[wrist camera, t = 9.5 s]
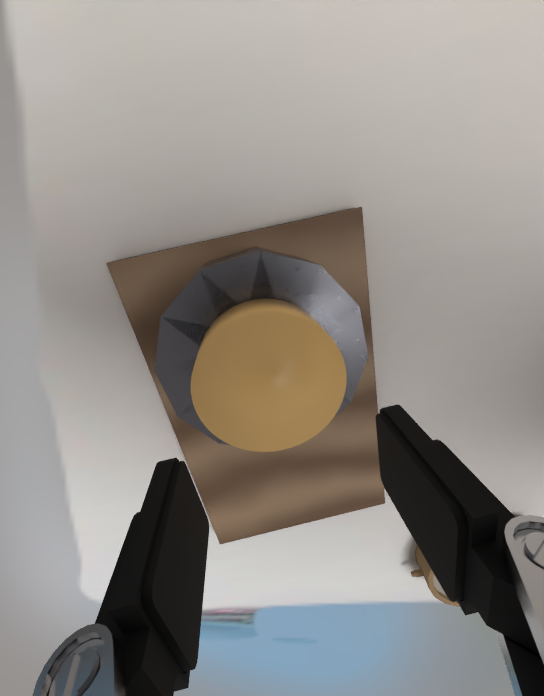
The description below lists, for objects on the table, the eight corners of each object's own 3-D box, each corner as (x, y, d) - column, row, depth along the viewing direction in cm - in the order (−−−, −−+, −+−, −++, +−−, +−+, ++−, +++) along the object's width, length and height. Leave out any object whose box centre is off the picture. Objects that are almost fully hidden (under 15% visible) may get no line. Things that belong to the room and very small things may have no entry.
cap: (334, 335, 22) (376, 381, 15) (262, 405, 23) (272, 474, 17) (257, 260, 19) (267, 276, 13) (181, 344, 21) (156, 397, 14)
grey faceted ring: (376, 332, 22) (404, 353, 18) (264, 438, 24) (269, 476, 21) (254, 206, 18) (258, 200, 14) (134, 347, 20) (112, 373, 17)
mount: (379, 493, 30) (385, 503, 29) (220, 532, 29) (220, 544, 28) (354, 208, 20) (362, 206, 19) (113, 261, 19) (106, 263, 18)
